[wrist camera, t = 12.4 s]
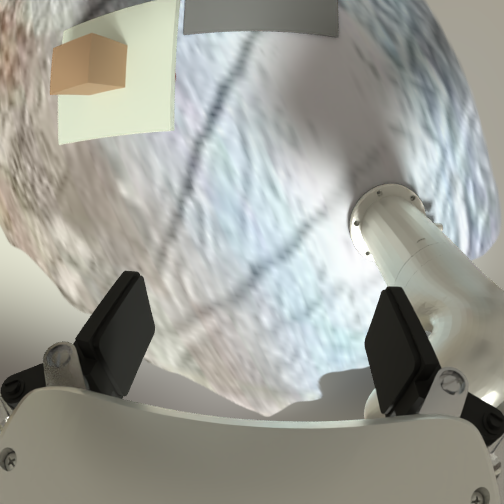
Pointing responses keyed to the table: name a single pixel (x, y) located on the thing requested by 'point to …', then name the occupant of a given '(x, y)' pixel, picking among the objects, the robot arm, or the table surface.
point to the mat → (262, 16)
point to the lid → (117, 73)
